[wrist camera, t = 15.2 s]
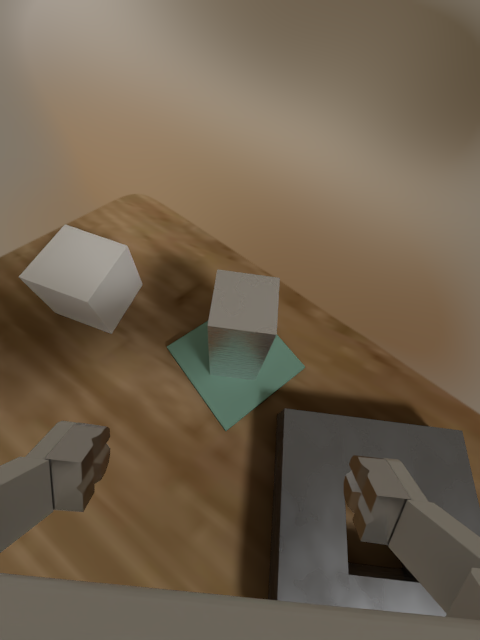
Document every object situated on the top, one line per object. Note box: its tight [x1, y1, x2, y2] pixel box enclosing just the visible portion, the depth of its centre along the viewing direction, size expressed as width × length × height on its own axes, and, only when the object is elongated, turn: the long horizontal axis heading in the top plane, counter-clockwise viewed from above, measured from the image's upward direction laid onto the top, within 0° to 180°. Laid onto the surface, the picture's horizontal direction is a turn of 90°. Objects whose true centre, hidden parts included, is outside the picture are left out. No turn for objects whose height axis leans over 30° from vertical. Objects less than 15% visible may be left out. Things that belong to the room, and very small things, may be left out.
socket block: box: [268, 408, 480, 617], centre depth 21 cm, size 14×14×3 cm
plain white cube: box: [19, 225, 143, 334], centre depth 26 cm, size 6×6×6 cm
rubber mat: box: [167, 321, 305, 431], centre depth 27 cm, size 9×9×1 cm
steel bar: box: [208, 270, 280, 381], centre depth 22 cm, size 4×4×10 cm
